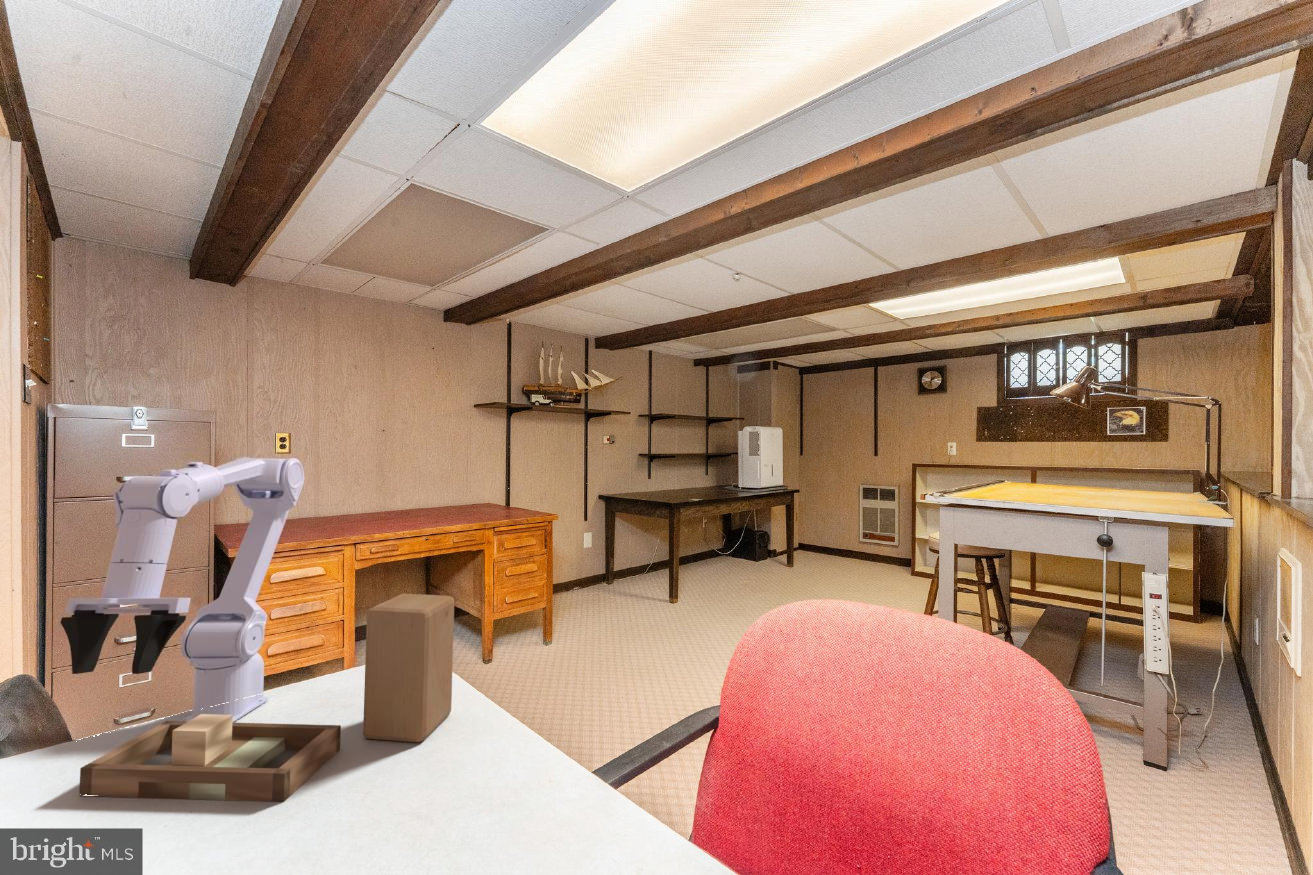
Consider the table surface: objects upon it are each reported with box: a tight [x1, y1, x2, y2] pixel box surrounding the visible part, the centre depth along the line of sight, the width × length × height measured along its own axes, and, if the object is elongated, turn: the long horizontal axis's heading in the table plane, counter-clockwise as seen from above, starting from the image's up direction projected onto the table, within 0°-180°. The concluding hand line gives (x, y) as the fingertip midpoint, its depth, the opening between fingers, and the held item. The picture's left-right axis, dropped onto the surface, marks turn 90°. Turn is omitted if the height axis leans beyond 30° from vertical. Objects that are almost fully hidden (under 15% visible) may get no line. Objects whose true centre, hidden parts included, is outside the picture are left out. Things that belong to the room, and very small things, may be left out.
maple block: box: [171, 714, 233, 766], centre depth 75 cm, size 4×4×4 cm
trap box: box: [78, 720, 342, 803], centre depth 75 cm, size 12×26×4 cm, turn 89°
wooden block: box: [362, 593, 455, 743], centre depth 88 cm, size 10×10×20 cm
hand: (112, 672), depth 70 cm, fingers open, 7 cm apart
